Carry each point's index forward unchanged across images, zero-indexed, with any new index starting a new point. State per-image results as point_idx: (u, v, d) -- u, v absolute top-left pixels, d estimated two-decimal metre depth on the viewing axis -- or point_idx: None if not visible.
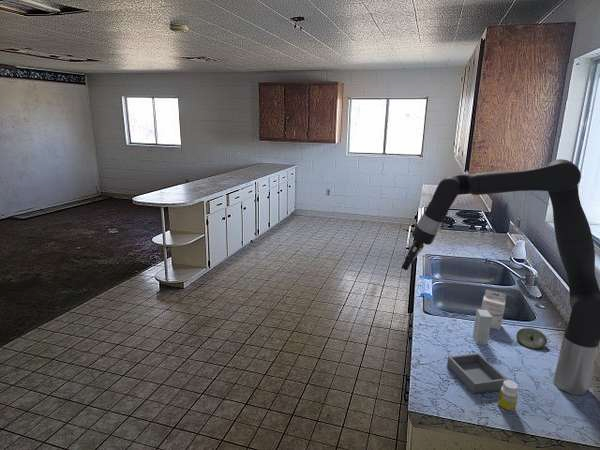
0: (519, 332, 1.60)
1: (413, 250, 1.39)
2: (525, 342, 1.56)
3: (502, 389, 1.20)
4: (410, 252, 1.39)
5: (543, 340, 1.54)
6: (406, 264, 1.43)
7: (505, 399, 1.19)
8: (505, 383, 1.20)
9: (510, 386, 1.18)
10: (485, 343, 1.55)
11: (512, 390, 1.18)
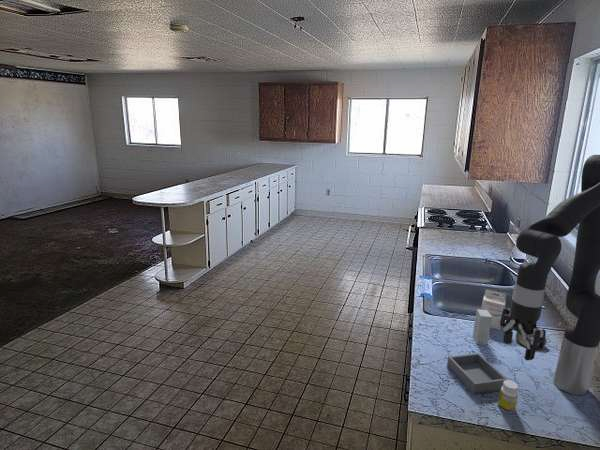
0: None
1: (541, 336, 1.07)
2: (524, 342, 1.55)
3: (502, 389, 1.20)
4: (538, 340, 1.08)
5: None
6: (532, 354, 1.11)
7: (505, 399, 1.19)
8: (505, 383, 1.20)
9: (510, 386, 1.18)
10: (485, 343, 1.55)
11: (512, 390, 1.18)
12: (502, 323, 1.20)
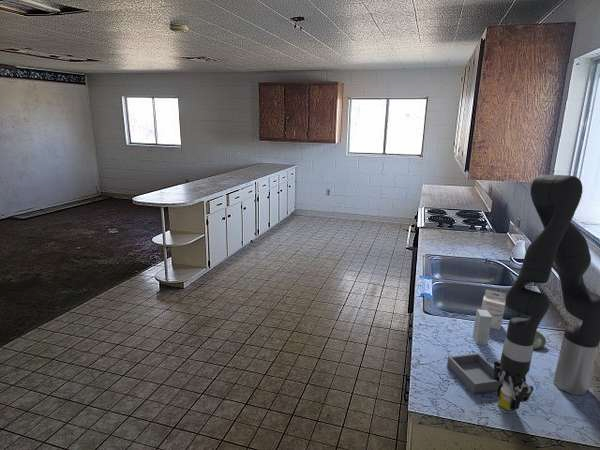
0: None
1: (528, 392, 1.13)
2: None
3: (502, 389, 1.20)
4: (525, 395, 1.13)
5: (541, 341, 1.54)
6: (517, 404, 1.17)
7: (505, 399, 1.19)
8: (505, 383, 1.20)
9: None
10: (485, 343, 1.55)
11: None
12: (496, 377, 1.24)
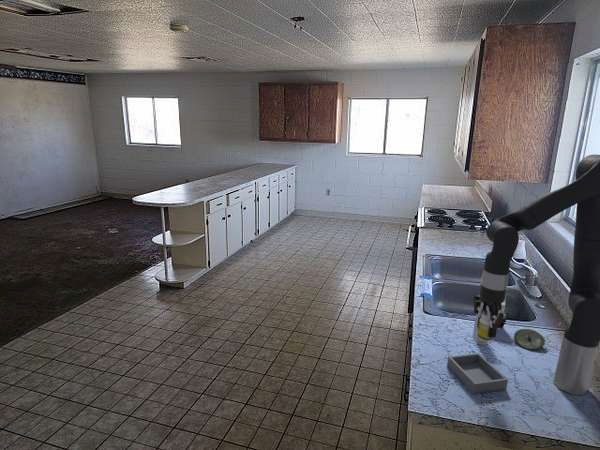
0: (517, 333, 1.59)
1: (503, 318, 1.22)
2: (523, 343, 1.55)
3: (480, 319, 1.29)
4: (500, 321, 1.23)
5: (540, 341, 1.54)
6: (494, 331, 1.26)
7: (483, 328, 1.28)
8: (483, 313, 1.29)
9: (487, 315, 1.28)
10: (485, 343, 1.55)
11: None
12: (476, 310, 1.33)
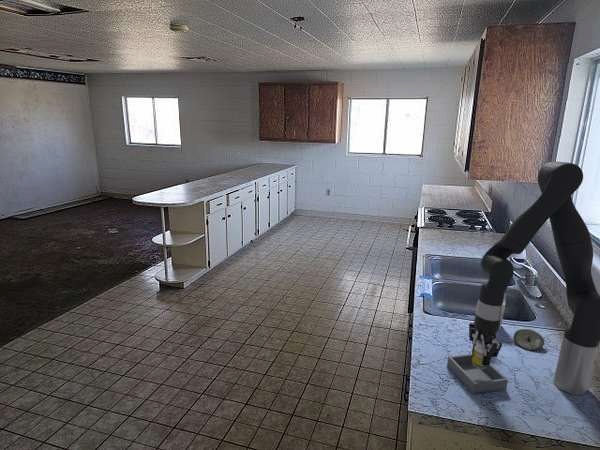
0: (516, 334, 1.59)
1: (497, 348, 1.25)
2: (522, 343, 1.55)
3: (475, 347, 1.33)
4: (494, 351, 1.26)
5: (540, 341, 1.53)
6: (488, 360, 1.29)
7: (478, 356, 1.31)
8: (478, 342, 1.32)
9: None
10: None
11: None
12: (471, 338, 1.36)
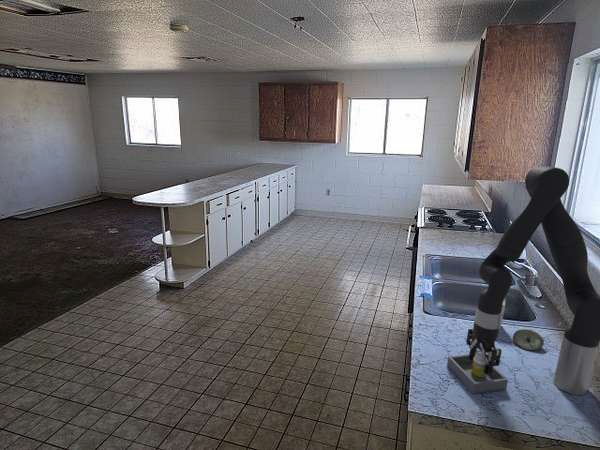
0: (516, 334, 1.58)
1: (497, 354, 1.25)
2: (522, 344, 1.54)
3: (474, 358, 1.33)
4: (495, 358, 1.25)
5: (539, 342, 1.53)
6: (490, 369, 1.29)
7: (477, 367, 1.32)
8: (477, 353, 1.33)
9: (481, 355, 1.32)
10: None
11: (483, 359, 1.31)
12: (468, 342, 1.38)
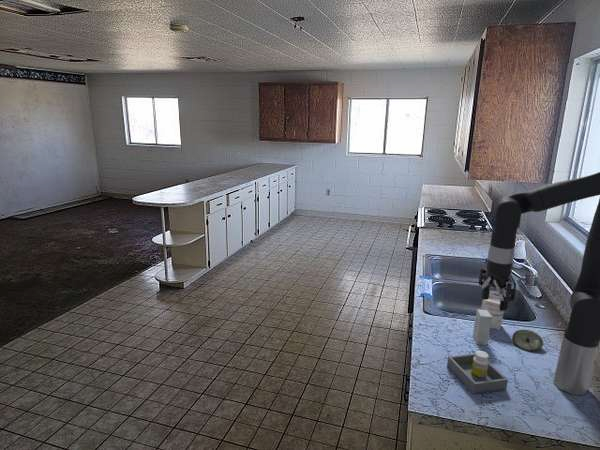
0: (515, 334, 1.58)
1: (512, 288, 1.25)
2: (521, 344, 1.54)
3: (474, 358, 1.33)
4: (510, 291, 1.25)
5: (539, 342, 1.53)
6: (506, 304, 1.29)
7: (477, 367, 1.32)
8: (477, 353, 1.33)
9: (481, 355, 1.32)
10: (485, 343, 1.55)
11: (483, 359, 1.31)
12: (480, 282, 1.38)
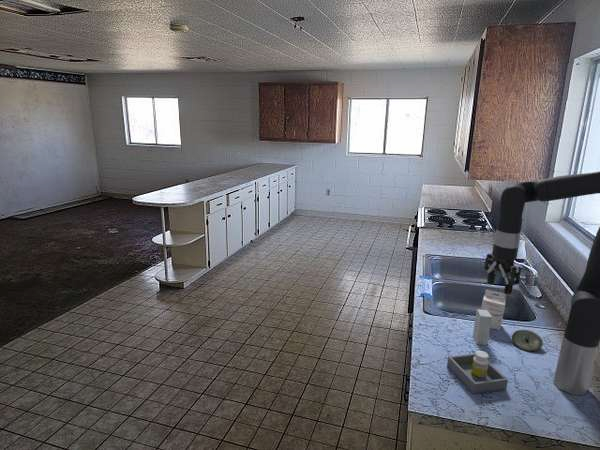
0: (515, 334, 1.58)
1: (517, 271, 1.29)
2: (521, 344, 1.54)
3: (474, 358, 1.33)
4: (515, 275, 1.29)
5: (538, 342, 1.53)
6: (510, 288, 1.32)
7: (477, 367, 1.32)
8: (477, 353, 1.33)
9: (481, 355, 1.32)
10: (485, 343, 1.55)
11: (483, 359, 1.31)
12: (486, 266, 1.42)
